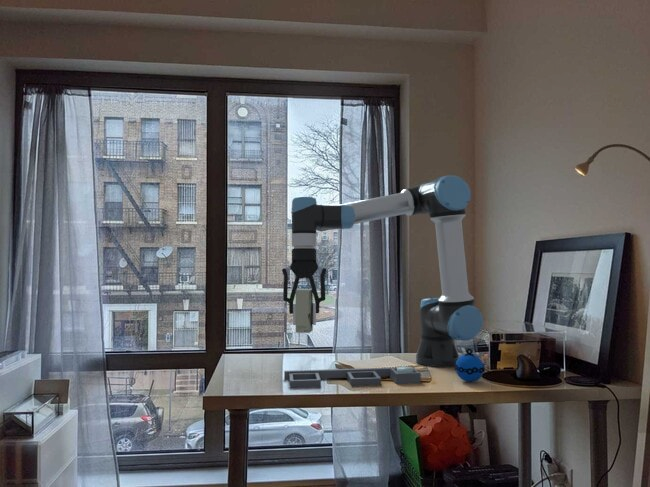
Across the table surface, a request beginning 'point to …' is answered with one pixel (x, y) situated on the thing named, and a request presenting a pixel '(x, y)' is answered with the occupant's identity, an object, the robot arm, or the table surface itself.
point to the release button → (404, 369)
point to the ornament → (469, 367)
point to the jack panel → (336, 376)
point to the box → (304, 310)
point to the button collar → (405, 376)
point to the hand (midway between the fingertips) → (304, 324)
